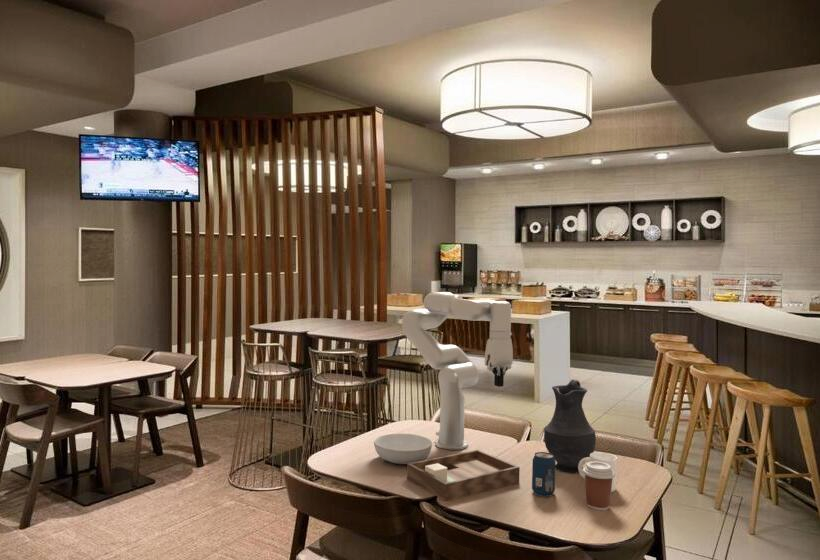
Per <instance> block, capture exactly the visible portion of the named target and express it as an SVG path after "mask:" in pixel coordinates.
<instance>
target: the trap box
mask: <svg viewBox="0 0 820 560" xmlns="http://www.w3.org/2000/svg"><path fill="white" fill-rule="evenodd" d="M437 463H439V464H441V465H443V466H445V467H447V481H442V480H440V479H439V478H437V477H435V476H433V475H431V474H429V473H427V472H425V466H427V465H432V464H437ZM406 480H408V481H410V482H411V483H413V484H415V485H417V486H419V487H420V488H422V489H424V490H426V491H427V492H429V493H431V494H433V495H434V496H436V497H437V498H439V499H441V500H443V501H445V502H448V501H451V500H456V499H460V498H463V497H468V496H471V495H472V496H473V495H475V494H479V493H483V492H488V491H490V490H491V491H492V490H495V489H498V488H503V487H507V486H510V485H514V484H518V483H520V466H518V465H516V464H513V463H511V462H508V461H506V460H504V459H501V458H499V457H497V456H494V455H492V454H489V453H486V452H484V451H483V450H479V449H475V450H469V451H464V452H459V453H454V454H449V455H443V456H438V457H434V458H430V459H423V460H421V461H418V462H413V463H408V464H406Z"/></svg>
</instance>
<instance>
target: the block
mask: <svg viewBox="0 0 820 560" xmlns="http://www.w3.org/2000/svg"><path fill="white" fill-rule="evenodd" d="M425 472H427V473H429V474H431V475H433V476H435V477H437V478H439V479H440V480H442V481H447V467H445V466H443V465H441V464H439V463H437V464H432V465H427V466H425Z"/></svg>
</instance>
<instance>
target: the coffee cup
mask: <svg viewBox="0 0 820 560" xmlns="http://www.w3.org/2000/svg"><path fill="white" fill-rule="evenodd" d="M583 473H584V474H585V479H584V480H585V481H584V482H585V485H584V486H585V499H586V500H585V501H586V507H589V508H590V509H592V510H596V511H607V510H609V509H610V503H611V495H612V494H611V493H612V492H611V487H612V478H614V477H615V472H614V471H613V470H612V467H611V466H610V465H609V464H606V463H603V462H595V461H594V462H586V465H585V466H583Z"/></svg>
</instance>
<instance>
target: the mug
mask: <svg viewBox="0 0 820 560" xmlns="http://www.w3.org/2000/svg"><path fill="white" fill-rule="evenodd" d="M594 461H595V462H603V463H606V464H609V465H610V466H611V467H612V470H613V471H614V472H615V477H614V478H612V487H611V493H614V492H615V491H616V490H617V482H618V481H617V479H618V478H617V477H618V475H617V473H618V457H617V456H616V455H614V454H612V453H608V452H603V451H602V452H601V451H599V452H598V451H597V452H596V451H594V452H593V453H591V454H590V457H586V458H583V459H581V460H580V462H579V465H578V470H579V473H578V474H579V475H580V477H581V478H583V479H584V480H585V474H584V473H583V470H582V467H584V465H585V464H584V463H585V462H586V463H588V462H594Z"/></svg>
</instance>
